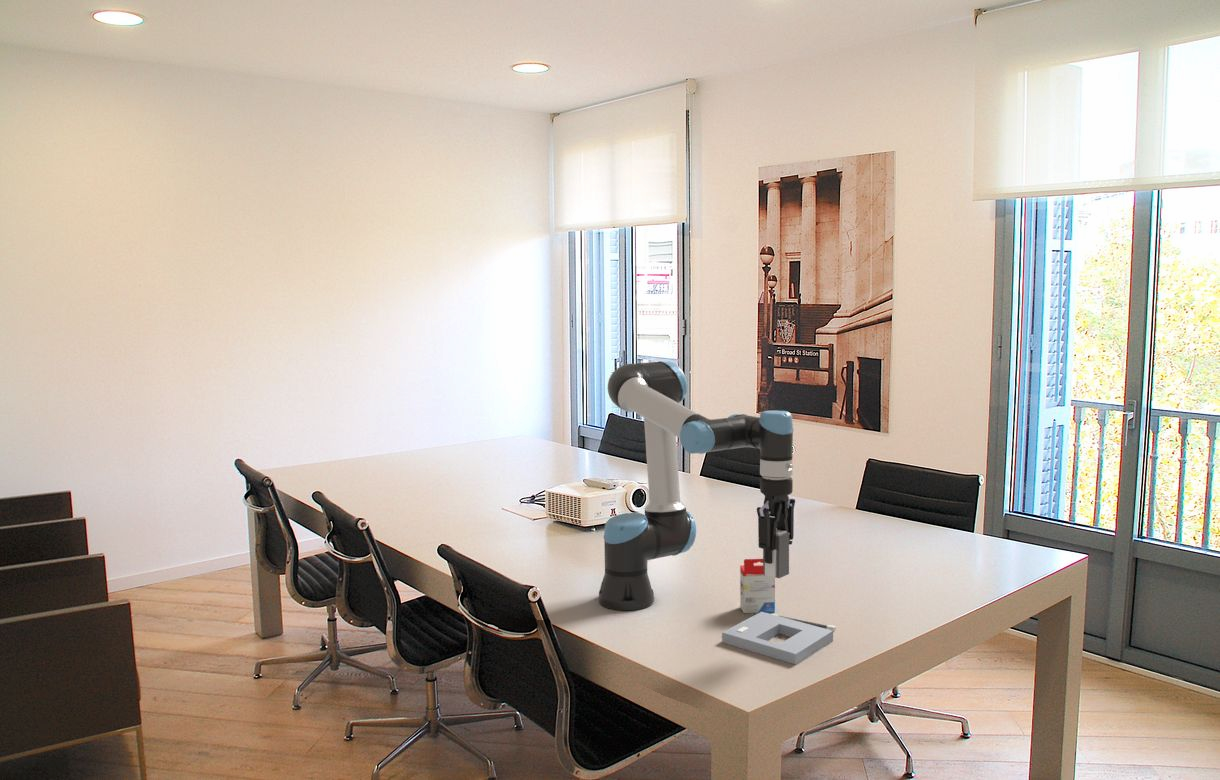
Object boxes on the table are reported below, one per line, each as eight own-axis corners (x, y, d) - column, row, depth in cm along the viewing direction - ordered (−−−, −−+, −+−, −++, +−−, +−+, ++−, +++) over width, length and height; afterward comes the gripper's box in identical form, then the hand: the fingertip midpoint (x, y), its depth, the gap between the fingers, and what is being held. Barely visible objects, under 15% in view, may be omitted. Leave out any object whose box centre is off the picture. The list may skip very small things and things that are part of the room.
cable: (770, 617, 233) (770, 614, 233) (772, 616, 234) (772, 613, 234) (834, 631, 224) (834, 627, 224) (836, 629, 225) (836, 626, 225)
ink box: (771, 606, 241) (771, 553, 240) (775, 613, 237) (775, 558, 235) (739, 607, 241) (740, 553, 239) (742, 613, 236) (743, 559, 235)
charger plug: (763, 574, 214) (763, 531, 213) (773, 570, 217) (773, 527, 216) (779, 578, 211) (779, 534, 210) (789, 573, 214) (789, 530, 213)
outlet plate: (722, 642, 218) (722, 631, 217) (761, 620, 231) (761, 610, 231) (795, 664, 205) (795, 653, 204) (833, 640, 218) (833, 629, 218)
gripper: (770, 484, 203) (770, 585, 205) (809, 472, 216) (808, 567, 218) (742, 480, 208) (742, 579, 210) (781, 469, 221) (781, 562, 223)
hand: (776, 573), depth 214 cm, fingers closed on charger plug, 4 cm apart
